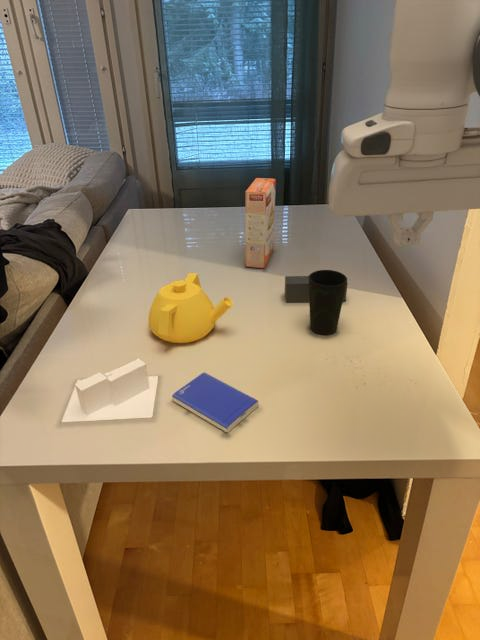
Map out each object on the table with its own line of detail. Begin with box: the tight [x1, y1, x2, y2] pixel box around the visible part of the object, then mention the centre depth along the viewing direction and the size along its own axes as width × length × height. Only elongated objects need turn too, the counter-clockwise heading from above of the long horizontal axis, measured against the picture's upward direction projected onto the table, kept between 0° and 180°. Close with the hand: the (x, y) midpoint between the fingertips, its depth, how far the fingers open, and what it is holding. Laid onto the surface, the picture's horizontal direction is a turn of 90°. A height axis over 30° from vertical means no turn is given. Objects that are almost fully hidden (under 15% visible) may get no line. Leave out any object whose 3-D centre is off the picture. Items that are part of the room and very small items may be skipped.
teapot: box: [148, 272, 234, 344], centre depth 97 cm, size 20×18×11 cm
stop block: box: [284, 275, 349, 304], centre depth 110 cm, size 14×4×5 cm, turn 90°
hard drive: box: [171, 372, 259, 434], centre depth 79 cm, size 2×8×12 cm
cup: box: [308, 269, 348, 337], centre depth 96 cm, size 8×8×12 cm
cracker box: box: [244, 177, 277, 269], centre depth 126 cm, size 14×6×21 cm, turn 167°
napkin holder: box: [61, 358, 159, 423], centre depth 80 cm, size 15×11×6 cm
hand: (405, 243), depth 61 cm, fingers closed
